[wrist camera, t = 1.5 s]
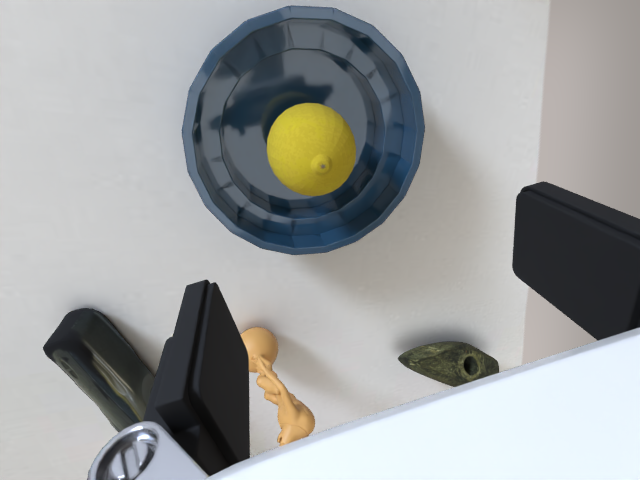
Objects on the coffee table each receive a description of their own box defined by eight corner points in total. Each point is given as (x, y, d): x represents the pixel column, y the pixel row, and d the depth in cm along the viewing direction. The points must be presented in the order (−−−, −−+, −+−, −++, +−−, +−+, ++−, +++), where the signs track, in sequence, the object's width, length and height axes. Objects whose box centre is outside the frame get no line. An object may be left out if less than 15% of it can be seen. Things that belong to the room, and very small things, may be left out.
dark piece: (28, 355, 25) (148, 463, 32) (68, 339, 25) (178, 451, 32) (62, 311, 29) (160, 415, 36) (95, 297, 29) (187, 404, 36)
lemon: (347, 108, 25) (386, 127, 18) (326, 180, 27) (354, 222, 21) (272, 86, 24) (284, 99, 17) (256, 165, 26) (261, 204, 19)
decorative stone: (485, 309, 38) (516, 341, 34) (484, 356, 42) (511, 390, 38) (390, 339, 38) (409, 375, 33) (398, 384, 41) (415, 422, 37)
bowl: (271, -47, 21) (278, -71, 17) (436, 111, 27) (468, 121, 23) (153, 162, 25) (136, 182, 21) (320, 257, 31) (330, 286, 27)
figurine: (219, 309, 32) (207, 433, 21) (282, 288, 32) (301, 401, 21) (251, 368, 36) (254, 497, 25) (306, 349, 36) (332, 469, 26)
